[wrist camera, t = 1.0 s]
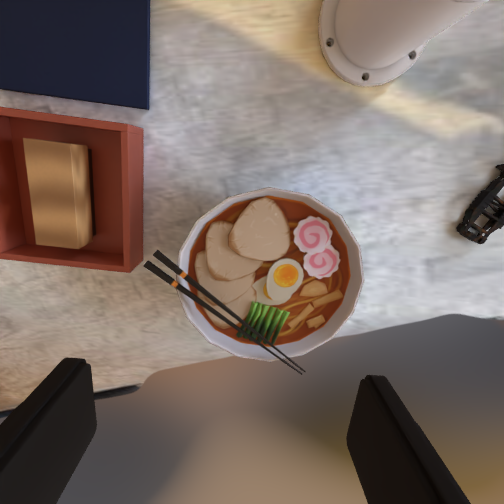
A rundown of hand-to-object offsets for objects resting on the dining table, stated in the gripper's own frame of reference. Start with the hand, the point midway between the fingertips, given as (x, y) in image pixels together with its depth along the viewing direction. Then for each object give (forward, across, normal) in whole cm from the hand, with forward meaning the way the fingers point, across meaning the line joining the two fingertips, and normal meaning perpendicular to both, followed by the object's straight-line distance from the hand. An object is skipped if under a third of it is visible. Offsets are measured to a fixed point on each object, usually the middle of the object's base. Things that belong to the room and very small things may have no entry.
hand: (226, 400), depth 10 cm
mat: (+30, +21, -23) cm, 43 cm away
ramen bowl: (+31, -4, +6) cm, 31 cm away
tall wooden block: (+30, +22, -2) cm, 37 cm away
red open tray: (+31, +22, -2) cm, 38 cm away
